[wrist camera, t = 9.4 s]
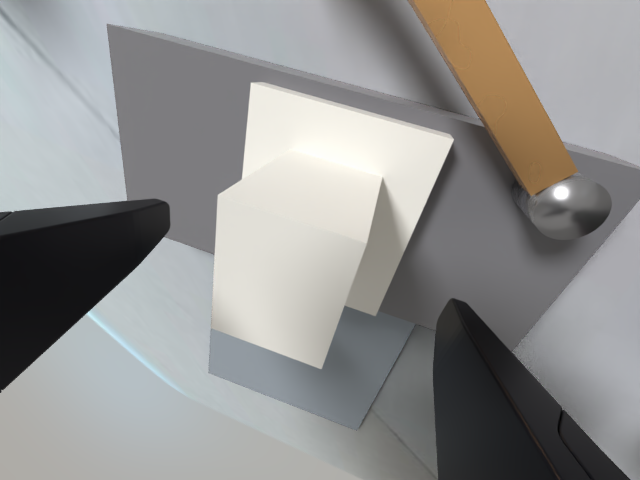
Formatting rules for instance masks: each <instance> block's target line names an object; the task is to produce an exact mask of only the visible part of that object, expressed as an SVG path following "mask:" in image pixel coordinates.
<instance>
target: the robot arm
mask: <svg viewBox="0 0 640 480" xmlns="http://www.w3.org/2000/svg"><path fill="white" fill-rule="evenodd" d="M170 225H171V224H170V206H169V204H168V203H167V202H165V201H162V200H159V199H155V198H153V199H142V200H131V201H121V202H110V203H99V204H88V205H77V206H66V207H55V208H44V209H33V210H22V211H14V212H0V393H1V390H4V389H5V388H6V387H7V386H8V385H9V384H10V383H11V382H12V381H13V380H15V379H16V378H17V377H18V376H19V375H20V374H21V373H22V372H23V371H24V370H26V368H28V366H30V365H31V364H32V363H33V362H34V361H35V360H36V359H37V358H38V357H39V356H41V354H43V353H44V352H45V351H46V350H47V349H48V348H49V347H51V346H52V345H53V344H54V343H55V342H56V341H57V340H58V339H59V338H60V337H61V336H62V335H64V334H65V333H66V332H67V331H68V330H69V329H70V328H71V327H72V326H73V325H74V324H75V323H77V322H78V321H79V320H80V319H81V318H82V317H83V316H84V315H85V314H86V313H88V312H89V311H90V310H91V309H92V308H93V307H94V306H95V305H96V304H97V303H98V302H99V301H101V300H102V299H103V298H104V297H105V296H106V295H107V294H108V293H109V292H110V291H111V290H113V289H114V288H115V287H116V286H117V285H118V284H119V283H120V282H121V281H122V280H123V279H125V278H126V277H127V276H128V275H129V274H130V273H131V272H132V271H133V270H134V269H135V268H136V267H137V266H138V265H139V264H140V263H141V262H142V261H143V260H144V259H145V258H146V257H147V255H148V254H149V253H150V252H151V251H152V250H153V249H154V248H155V246H156V245H157V244H158V243H159V242H160V241H161V240H162V238H163V237H164V236H165V235H166V234H167V233H168V231H169V229H170ZM433 387H434V407H435V426H436V446H437V465H438V480H630V479H629V478H628V477H627V476H626V475H625V474H624V473H623V472H622V471H621V470H620V469H619V468H618V467H617V466H616V465H615V464H614V463H613V462H612V461H611V460H610V459H609V458H608V457H607V456H606V455H605V453H604V452H603V451H602V450H601V449H600V448H599V447H598V446H597V445H596V444H595V443H594V442H593V441H592V440H591V439H590V438H589V437H588V435H587V434H586V433H585V432H584V431H583V430H582V429H581V428H580V427H579V426H578V425H577V424H576V422H575V421H574V420H573V419H572V418H571V417H570V416H569V415H568V414H567V412H566V411H564V410H562V407H561V406H560V405H559V404H558V403H557V402H556V400H555V399H554V398H553V397H552V396H551V395H550V394H549V393H548V392H547V391H546V389H545V388H544V387H543V386H542V385H541V384H540V383H539V382H538V381H537V380H536V378H535V377H534V376H533V375H532V374H531V373H530V372H529V371H528V370H527V369H526V367H525V366H524V365H523V364H522V363H521V362H520V361H519V360H518V359H517V358H516V356H515V355H514V354H513V353H512V352H511V351H510V350H509V349H508V348H507V347H506V345H505V344H504V343H503V342H502V341H501V340H500V339H499V338H498V337H497V336H496V334H495V333H494V332H493V331H492V330H491V329H490V328H489V327H488V326H487V325H486V323H485V322H484V321H483V320H482V319H481V318H480V317H479V316H478V315H477V314H476V312H475V311H474V310H473V309H472V308H471V307H470V306H469V305H468V304H467V303H466V302H464V301H461V300H458V299H455V298H451V299H450V300H449V301H448V302H447V304H446V306H445V307H444V309H443V311H442V312H441V314H440V316H439V318H438V320H437V324H436V334H435V348H434V362H433Z"/></svg>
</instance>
